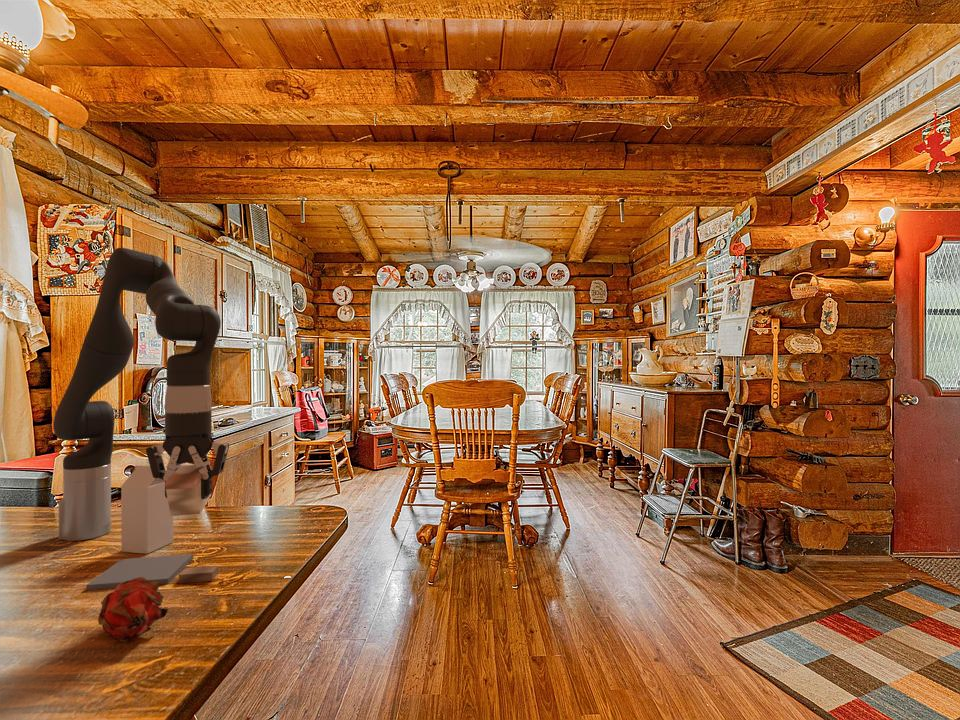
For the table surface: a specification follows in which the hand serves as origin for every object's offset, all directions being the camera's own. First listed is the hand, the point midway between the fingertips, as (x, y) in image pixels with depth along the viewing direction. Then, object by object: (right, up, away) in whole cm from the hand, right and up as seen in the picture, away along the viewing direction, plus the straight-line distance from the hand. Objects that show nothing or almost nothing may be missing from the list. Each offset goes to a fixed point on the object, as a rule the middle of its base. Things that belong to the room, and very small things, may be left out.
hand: (188, 498), depth 90 cm
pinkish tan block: (0, -3, 0) cm, 3 cm away
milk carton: (-22, -18, +21) cm, 35 cm away
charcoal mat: (-13, -17, +7) cm, 23 cm away
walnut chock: (-1, -17, +4) cm, 18 cm away
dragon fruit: (0, -17, -14) cm, 22 cm away
